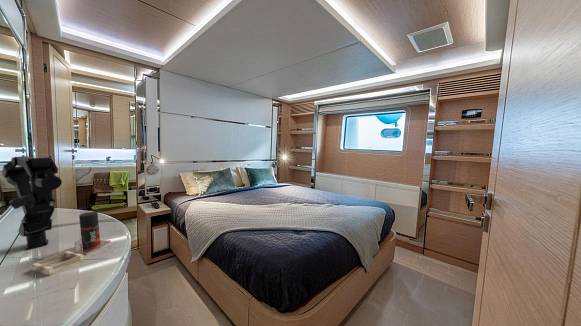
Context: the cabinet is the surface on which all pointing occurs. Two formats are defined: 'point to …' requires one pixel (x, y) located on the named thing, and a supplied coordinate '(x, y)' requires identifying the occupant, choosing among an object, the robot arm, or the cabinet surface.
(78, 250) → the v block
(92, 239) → the deodorant
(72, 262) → the beige square frame
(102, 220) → the cabinet surface
